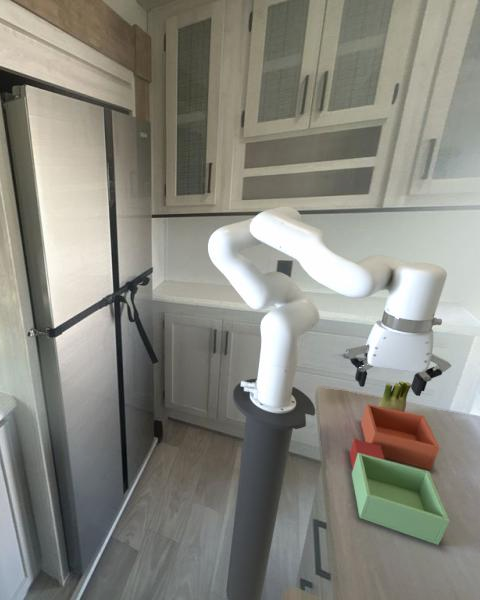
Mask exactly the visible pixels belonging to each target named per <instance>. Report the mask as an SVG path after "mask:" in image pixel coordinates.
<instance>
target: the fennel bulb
mask: <svg viewBox="0 0 480 600" xmlns="http://www.w3.org/2000/svg"><path fill="white" fill-rule="evenodd" d="M411 385H412V383H410V382H404V381H401V380H399V382H395V384H394V385H393V384H392V383H389V382H386V383H385V386H384V391H383V395H382V398H381V400H380V402H379V404H378V405H377V406H378V407H383V408H388V409H393V410H397V411H402V412H406V407H407V398H408V393H409V391H410V389H411Z"/></svg>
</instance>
